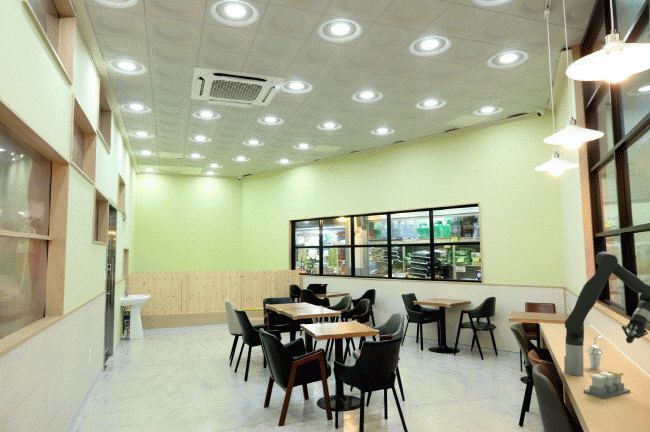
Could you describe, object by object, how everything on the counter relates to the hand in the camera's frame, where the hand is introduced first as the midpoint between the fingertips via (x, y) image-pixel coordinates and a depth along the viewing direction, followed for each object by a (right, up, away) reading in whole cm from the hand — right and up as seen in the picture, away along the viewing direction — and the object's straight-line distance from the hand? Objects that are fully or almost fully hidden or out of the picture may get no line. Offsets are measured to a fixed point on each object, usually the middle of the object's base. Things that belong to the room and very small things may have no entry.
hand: (628, 342), depth 236 cm
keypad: (-19, -23, -11) cm, 31 cm away
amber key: (-12, -20, -7) cm, 24 cm away
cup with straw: (+4, -26, +34) cm, 44 cm away
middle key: (-19, -19, -11) cm, 29 cm away
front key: (-26, -19, -15) cm, 35 cm away
